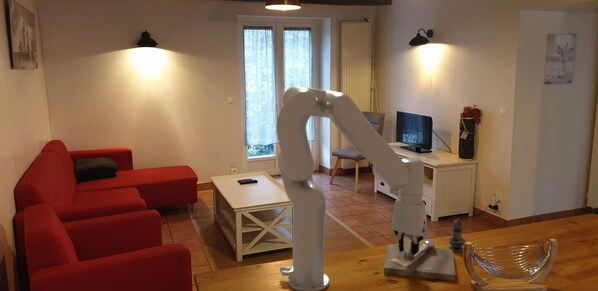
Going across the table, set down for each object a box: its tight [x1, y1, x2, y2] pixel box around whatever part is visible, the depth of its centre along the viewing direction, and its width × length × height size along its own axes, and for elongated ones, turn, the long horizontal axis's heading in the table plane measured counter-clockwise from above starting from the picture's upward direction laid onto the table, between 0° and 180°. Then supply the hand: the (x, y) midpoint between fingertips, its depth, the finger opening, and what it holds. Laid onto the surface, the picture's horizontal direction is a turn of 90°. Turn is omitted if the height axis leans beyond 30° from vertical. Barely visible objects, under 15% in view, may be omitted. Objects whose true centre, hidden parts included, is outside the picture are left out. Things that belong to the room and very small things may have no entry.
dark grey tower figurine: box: [448, 217, 466, 253], centre depth 170 cm, size 6×6×12 cm
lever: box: [403, 233, 436, 262], centre depth 158 cm, size 20×4×9 cm, turn 142°
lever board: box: [383, 243, 457, 282], centre depth 159 cm, size 22×20×3 cm
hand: (408, 251), depth 152 cm, fingers closed on lever, 3 cm apart
